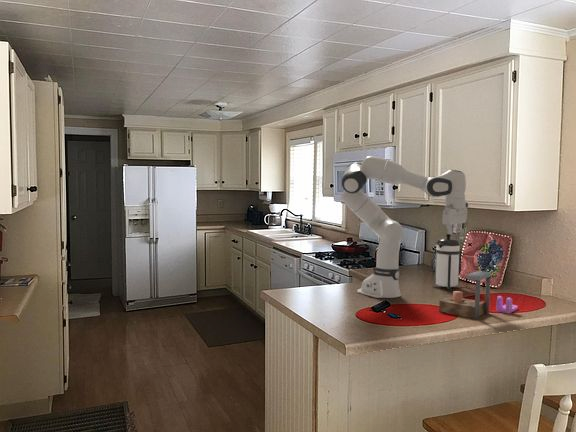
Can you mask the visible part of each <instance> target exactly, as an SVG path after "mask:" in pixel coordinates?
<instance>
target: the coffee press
mask: <svg viewBox="0 0 576 432" xmlns="http://www.w3.org/2000/svg"><path fill="white" fill-rule="evenodd" d="M435 246H436V248H435V268H434V269H435V270H434V273H435V274H434V282H433V284H432V286H434V285H435V286H434V288H436V287H438V286H439V287H443V288H446V290H447V291H451V288H454V287H458V286H459V287H458V289H461V288H462V287H461V284H459V282H460V280H459V279H460V275H461V271H462V251H461V250H460V247H461V243H460V241H459V239H456V238H453V237H451V234H448V233H446V236H445V237H442V238H438V239H437V241H436V242H435Z"/></svg>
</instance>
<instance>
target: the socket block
mask: <svg viewBox="0 0 576 432" xmlns="http://www.w3.org/2000/svg"><path fill="white" fill-rule="evenodd" d="M438 304H439V306H438V312H439V311H440V312H439V313H444V312H445V314H448V315H449V314H450V315H453V316H454V315H455V316H459V317H464V318H465V317H466V318H469V319H474V316H475V299H468V298H463V297H462V303H460V302H454V301H453V295H452V296H451V295H450V296H448V297H445V298H442V299H441V300H439V303H438ZM484 314H485V301H480V304H479V317H480V316H481V315H484Z"/></svg>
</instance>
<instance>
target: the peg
mask: <svg viewBox="0 0 576 432" xmlns="http://www.w3.org/2000/svg"><path fill="white" fill-rule="evenodd" d="M463 295H464V294H463V291H459V290H455V291H452V297H453V301H454V302H460V303H462V298H463Z"/></svg>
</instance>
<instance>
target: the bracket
mask: <svg viewBox="0 0 576 432" xmlns="http://www.w3.org/2000/svg"><path fill="white" fill-rule="evenodd" d="M496 297H497V298H496V303H495V305H496V307H495V311H496V312H498V313H505V314H511V313H513V312H515V311H517V310H518V309H519V307H518V305H515V304H513V298H512V297H506V300H505V304H504V298H503V296H502V295H498V296H496Z"/></svg>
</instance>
